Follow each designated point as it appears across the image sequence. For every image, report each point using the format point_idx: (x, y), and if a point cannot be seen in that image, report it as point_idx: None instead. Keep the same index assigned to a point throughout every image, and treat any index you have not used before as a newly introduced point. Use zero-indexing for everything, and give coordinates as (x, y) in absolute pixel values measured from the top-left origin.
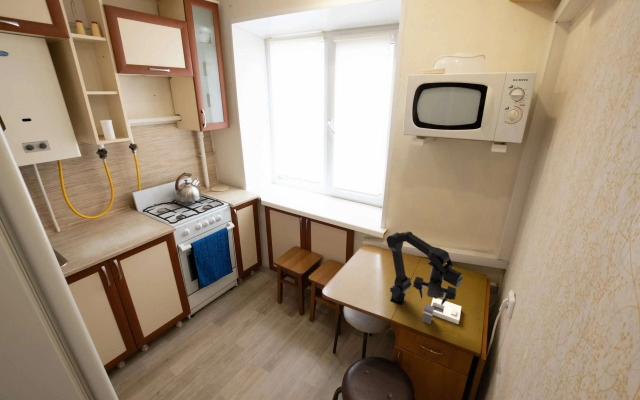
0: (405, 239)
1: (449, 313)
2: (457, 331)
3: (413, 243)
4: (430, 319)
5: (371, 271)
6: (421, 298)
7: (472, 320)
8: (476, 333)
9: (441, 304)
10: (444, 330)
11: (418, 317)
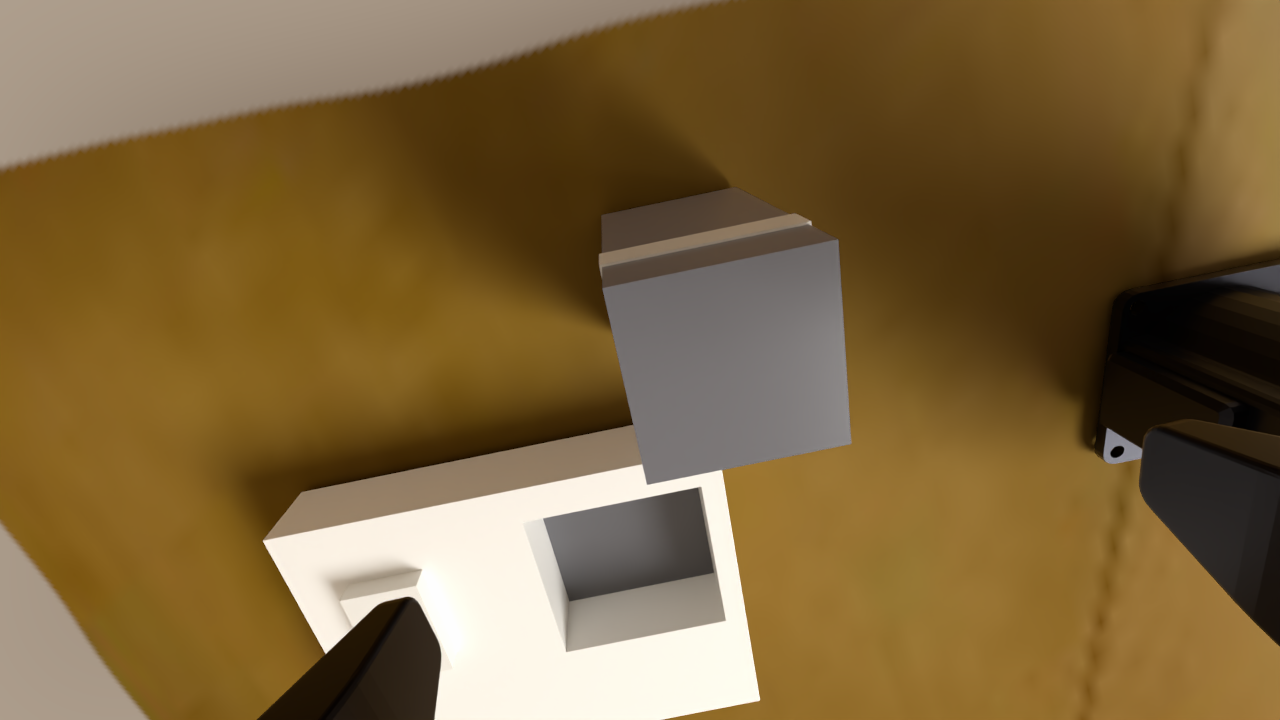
0: None
1: (443, 573)
2: (240, 367)
3: None
4: (615, 231)
5: None
6: (1175, 421)
7: (227, 657)
8: (56, 502)
9: (383, 619)
10: (380, 252)
11: None
